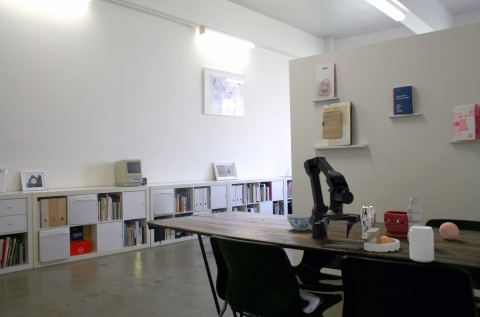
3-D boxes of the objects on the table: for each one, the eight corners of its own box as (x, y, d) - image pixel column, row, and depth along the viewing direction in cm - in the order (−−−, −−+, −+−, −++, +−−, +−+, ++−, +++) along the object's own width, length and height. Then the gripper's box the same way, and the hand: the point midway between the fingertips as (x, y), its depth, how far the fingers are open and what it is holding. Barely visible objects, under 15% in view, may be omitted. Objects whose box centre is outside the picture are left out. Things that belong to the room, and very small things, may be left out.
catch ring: (364, 250, 162) (363, 243, 162) (372, 242, 178) (372, 236, 179) (396, 253, 156) (396, 245, 156) (402, 245, 173) (401, 238, 173)
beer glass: (377, 239, 186) (376, 207, 186) (361, 239, 187) (361, 207, 187) (375, 237, 192) (374, 206, 193) (360, 236, 194) (359, 206, 194)
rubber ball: (381, 250, 165) (375, 239, 167) (383, 248, 170) (377, 237, 171) (392, 246, 163) (386, 235, 164) (394, 244, 168) (388, 233, 169)
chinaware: (314, 231, 211) (314, 217, 211) (286, 231, 214) (286, 217, 214) (314, 227, 226) (314, 214, 226) (288, 227, 229) (287, 213, 229)
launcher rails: (324, 246, 171) (324, 244, 171) (334, 240, 185) (334, 238, 185) (357, 249, 165) (357, 247, 165) (365, 242, 179) (365, 240, 179)
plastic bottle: (422, 242, 177) (421, 197, 178) (424, 245, 171) (422, 199, 171) (406, 241, 179) (405, 197, 180) (407, 244, 173) (406, 198, 173)
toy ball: (458, 238, 186) (457, 221, 186) (459, 241, 179) (459, 224, 179) (439, 237, 189) (438, 221, 189) (439, 240, 182) (439, 223, 182)
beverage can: (405, 258, 148) (404, 225, 149) (426, 257, 149) (425, 225, 149) (417, 263, 140) (416, 229, 141) (438, 262, 141) (438, 228, 141)
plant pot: (383, 238, 190) (383, 213, 190) (384, 233, 202) (384, 210, 202) (413, 239, 185) (412, 213, 185) (412, 235, 197) (411, 210, 197)
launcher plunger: (367, 248, 165) (367, 231, 165) (372, 243, 175) (372, 227, 175) (374, 249, 163) (374, 232, 163) (379, 244, 174) (379, 228, 174)
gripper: (310, 203, 175) (311, 238, 174) (353, 204, 166) (354, 242, 166) (318, 201, 185) (318, 234, 184) (359, 202, 176) (359, 237, 175)
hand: (336, 237), depth 177 cm, fingers open, 9 cm apart
